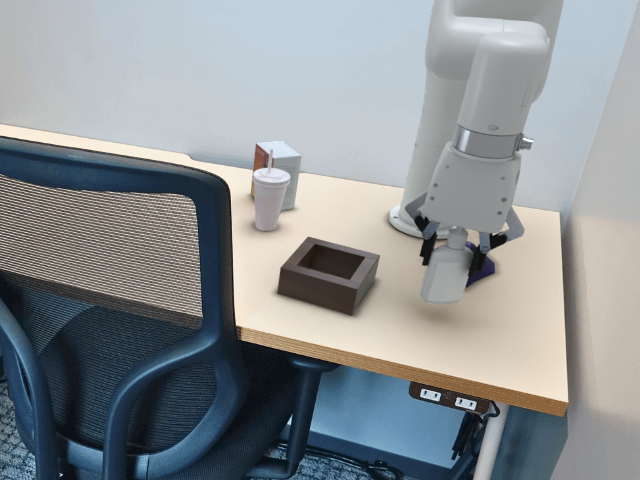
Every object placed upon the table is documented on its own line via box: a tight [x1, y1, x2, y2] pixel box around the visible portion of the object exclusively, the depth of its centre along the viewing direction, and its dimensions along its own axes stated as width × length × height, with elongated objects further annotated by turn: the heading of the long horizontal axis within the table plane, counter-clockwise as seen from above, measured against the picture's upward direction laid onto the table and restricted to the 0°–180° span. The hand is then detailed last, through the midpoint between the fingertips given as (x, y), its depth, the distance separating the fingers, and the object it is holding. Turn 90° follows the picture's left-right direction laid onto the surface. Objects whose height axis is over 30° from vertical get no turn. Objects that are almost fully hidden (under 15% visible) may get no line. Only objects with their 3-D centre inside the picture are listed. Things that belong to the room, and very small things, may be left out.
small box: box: [250, 140, 302, 211], centre depth 128 cm, size 8×6×10 cm
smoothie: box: [251, 149, 290, 232], centre depth 119 cm, size 6×6×14 cm
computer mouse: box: [465, 240, 496, 289], centre depth 110 cm, size 9×15×4 cm, turn 149°
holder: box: [276, 236, 381, 317], centre depth 105 cm, size 12×12×4 cm
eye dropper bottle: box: [419, 227, 474, 306], centre depth 95 cm, size 4×6×12 cm
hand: (449, 266), depth 96 cm, fingers closed on eye dropper bottle, 5 cm apart
